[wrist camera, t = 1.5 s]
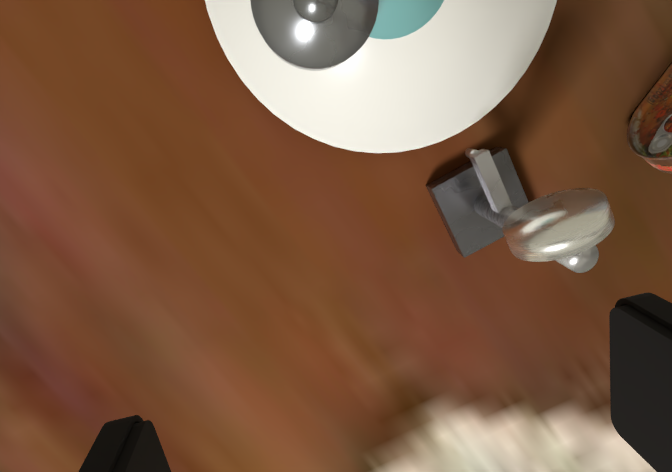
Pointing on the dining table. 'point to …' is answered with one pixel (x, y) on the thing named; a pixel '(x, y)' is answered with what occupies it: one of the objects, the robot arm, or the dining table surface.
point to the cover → (315, 29)
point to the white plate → (394, 70)
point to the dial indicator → (519, 213)
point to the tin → (654, 125)
